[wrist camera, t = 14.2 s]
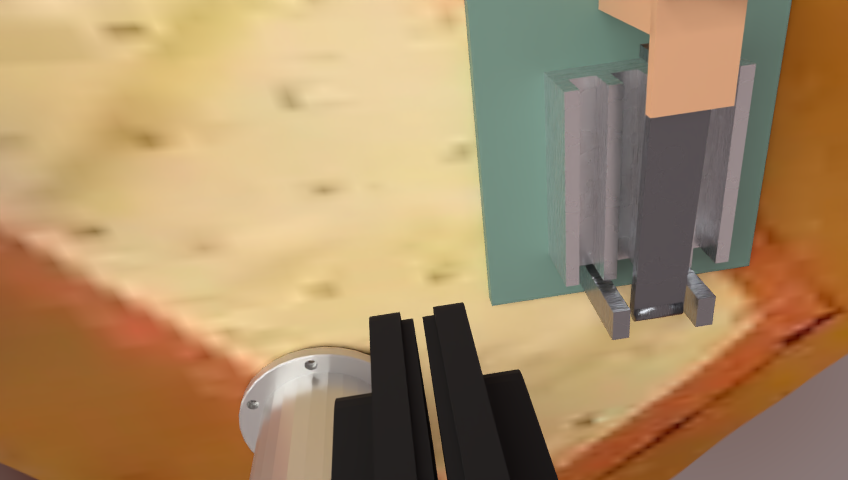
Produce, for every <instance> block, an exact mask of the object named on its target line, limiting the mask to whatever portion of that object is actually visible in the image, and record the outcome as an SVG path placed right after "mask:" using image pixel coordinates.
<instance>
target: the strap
mask: <svg viewBox="0 0 848 480" xmlns="http://www.w3.org/2000/svg"><path fill="white" fill-rule="evenodd" d="M639 57H640V58H642V59H643V60H644V61H646V62H647V63H648V58H649V43H646V44H640V51H639ZM710 116H711V109H710V110H703V111H696V112H690V113H683V114H676V115H670V116H663V117H656V118H649V117H648V116H647V115H646V118H645V130H644V142H643V154H642V166H641V178H640V191H639V203H638V215H637V227H636V239H635V251H634V263H633V276H632V288H631V300H630V314H631V317H632V319H633V320H634V321H641V320H647V319H654V318H660V317H666V316H673V315H679V314H682V313H683V310H684V307H683V306H684V299H685V292H686V285H687V278H688V271H689V264H690V257H691V249H692V242H693V235H694V228H695V221H696V214H697V207H698V200H699V193H700V186H701V179H702V172H703V165H704V158H705V151H706V144H707V137H708V130H709V123H710Z"/></svg>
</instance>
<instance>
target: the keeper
mask: <svg viewBox="0 0 848 480" xmlns="http://www.w3.org/2000/svg"><path fill="white" fill-rule="evenodd" d="M747 2H748V0H599V7H598V9H599V10H601V11H603V12H605V13H607V14H609V15H611V16H613V17H615V18H617V19H619V20H621V21H623V22H625V23H627V24H629V25H631V26H633V27H635V28H637V29H639V30H641V31H643V32H645V33H647V34H649V35H650V40H649V58H648V75H647V93H646V111H645V115H647V116H648V117H649V118H656V117H663V116H670V115H676V114H683V113H690V112H696V111H703V110H710V109H716V108H723V107H730V106H734V103H735V96H736V88H737V80H738V72H739V64H740V56H741V49H742V41H743V33H744V25H745V17H746V10H747Z"/></svg>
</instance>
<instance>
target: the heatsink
mask: <svg viewBox="0 0 848 480" xmlns="http://www.w3.org/2000/svg"><path fill="white" fill-rule="evenodd" d="M755 69H756V63H753V62H751V61H749V60H746V59H744V58H742V57H740V64H739V72H738V80H737V88H736V96H735V103H734V106H730V107H723V108H716V109H711V116H710V123H709V130H708V137H707V144H706V151H705V158H704V165H703V172H702V179H701V186H700V193H699V200H698V207H697V214H696V221H695V228H694V235H693V242H692V249H691V257H690V264H689V271H688V278H687V285H686V292H685V299H684V306H683V307H684V310H683V311H684V313H685V314H686V315H687V317H688V318H689V319H690V320H691V322H692V323H693V324H694V326H695V327H698V326H704V325H711V324H712V321H713V313H714V306H715V298H716V296H715V295H714V294H713V293H712V292H711V291H710V290H709V288H708V287H707V286H706V285H705V284H704V283H703V282H702V281H701V279H700V278H699V277H698V276H697V275H696V274H695V273H694V271H693V270H692V269H691V268H690V267H691V265H692V255H693V248H698V247H700V248H701V249H702V250H703V251H704V252H705V253H706V254H707V255H708V256H709V257H710V258H711V260H712V261H713V262H714V263H715V264H716V263H722V262H728V260H729V253H730V246H731V239H732V232H733V225H734V218H735V211H736V204H737V197H738V189H739V182H740V175H741V168H742V161H743V154H744V147H745V140H746V133H747V126H748V119H749V112H750V105H751V97H752V90H753V83H754V76H755ZM647 75H648V63H647V62H646V61H644V60H643V59H642V58H637V59H631V60H624V61H617V62H610V63H603V64H597V65H590V66H583V67H576V68H569V69H563V70H556V71H549V72H544V99H545V137H546V176H547V215H548V253H549V255H550V257H551V259H552V261H553V263H554V265H555V267H556V268H557V270H558V272H559V274H560V276H561V278H562V280H563V282H564V284H565V285H566V287H568V286H575V285H579V282H580V284H581V286H582V288H583V289H584V291H585V293H586V295H587V296H588V298H589V300H590V302H591V303H592V305H593V307H594V309H595V310H596V312H597V314H598V316H599V317H600V319H601V321H602V323H603V324H604V326H605V328H606V330H607V331H608V333H609V335H610V337H611V338H612V340H616V339H622V338H628V337H629V329H630V308H629V307H628V305H627V304H626V302H625V301H624V299H623V298H622V296H621V295H620V293H619V292H618V290H617V289H616V287H615V286H614V284H613V282H612V281H611V280H613V279H617V260H621V259H627V258H629V260H630V261H631V262H632V264H633V263H634V251H635V239H636V227H637V215H638V203H639V191H640V178H641V166H642V154H643V142H644V130H645V118H646V115H645V111H646V93H647Z"/></svg>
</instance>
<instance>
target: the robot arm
mask: <svg viewBox="0 0 848 480" xmlns="http://www.w3.org/2000/svg"><path fill="white" fill-rule="evenodd" d="M433 311H434V315H432V316H425V317H423V323H424V330H425V337H426V343H427V350H428V357H429V363H430V370H431V376H432V383H433V390H434V396H435V403H436V410H437V416H438V423H439V429H440V436H441V442H442V449H443V455H444V462H445V468H446V474H447V480H558V478H557V475H556V472H555V469H554V466H553V463H552V460H551V457H550V454H549V452H548V449H547V446H546V443H545V440H544V437H543V434H542V431H541V428H540V425H539V422H538V420H537V417H536V414H535V411H534V408H533V405H532V402H531V399H530V396H529V393H528V390H527V388H526V385H525V382H524V379H523V376H522V374H521V372H520V370H519V369H518V370H511V371H505V372H499V373H492V374H486V375H482V371H481V367H480V363H479V360H478V356H477V352H476V348H475V344H474V341H473V337H472V333H471V329H470V325H469V321H468V318H467V314H466V310H465V306H464V303H463V302H462V303H456V304H449V305H443V306H436V307H433ZM369 329H370V355H367V354H364V353H362V352H359V351H356V350H351V349H345V348H340V347H317V348H308V349H303V350H299V351H296V352H292V353H289V354H286V355H284V356H282V357H280V358H278V359H276V360H274V361H272V362H271V363H269V364H268V365H267V366H265V367H264V368H262V369H261V370H260V371H259V372H258V373H257V374H256V375H255V376H254V377H253V378H252V380H251V381H250V383H249V385H248V386H247V388H246V390H245V392H244V395H243V399H242V402H241V407H240V413H239V423H240V430H241V433H242V435H243V438H244V440H245V442H246V443H247V445H248V446H249V448H250V449H251V451H252V452H253V453H254V458H253V464H252V469H251V475H250V480H438V477H437V470H436V463H435V455H434V448H433V441H432V435H431V428H430V422H429V416H428V409H427V403H426V397H425V391H424V385H423V378H422V372H421V366H420V360H419V353H418V347H417V341H416V335H415V329H414V322H413V319H406V320H401V316H400V312H398V313H391V314H385V315H378V316H372V317H370V318H369Z"/></svg>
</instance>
